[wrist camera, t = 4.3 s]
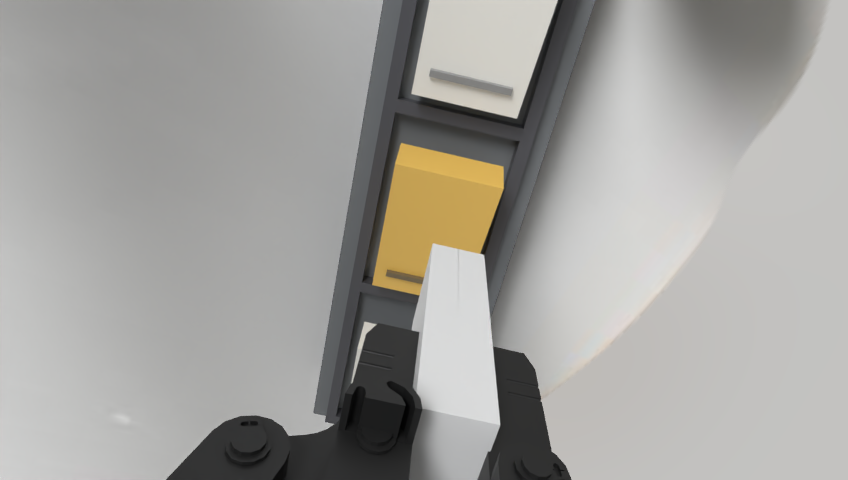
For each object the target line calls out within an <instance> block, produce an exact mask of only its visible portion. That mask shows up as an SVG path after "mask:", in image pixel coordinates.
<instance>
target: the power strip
mask: <svg viewBox="0 0 848 480" xmlns="http://www.w3.org/2000/svg"><path fill="white" fill-rule="evenodd" d="M594 3H595V0H558V1H557V4H556V7H555V10H554V13H553V16H552V19H551V22H550V24H549V27H548V30H547V33H546V36H545V39H544V42H543V45H542V48H541V50H540V53H539V56H538V59H537V62H536V65H535V68H534V71H533V74H532V76H531V79H530V82H529V85H528V88H527V91H526V94H525V97H524V100H523V102H522V105H521V108H520V111H519V114H518V117H517V119H516V118H512V117H507V116H503V115H499V114H495V113H490V112H486V111H482V110H478V109H473V108H469V107H465V106H461V105H456V104H452V103H448V102H444V101H439V100H435V99H431V98H427V97H422V96H418V95H414V94H411V93H412V88H413V83H414V78H415V72H416V67H417V62H418V57H419V52H420V47H421V41H422V36H423V31H424V26H425V21H426V16H427V10H428V5H429V0H383V6H382V12H381V18H380V24H379V30H378V36H377V41H376V47H375V53H374V59H373V65H372V71H371V77H370V83H369V89H368V95H367V100H366V106H365V112H364V118H363V124H362V130H361V136H360V142H359V148H358V153H357V159H356V165H355V171H354V177H353V183H352V189H351V195H350V201H349V206H348V212H347V218H346V224H345V230H344V236H343V242H342V248H341V254H340V260H339V265H338V271H337V277H336V283H335V289H334V295H333V301H332V307H331V313H330V318H329V324H328V330H327V336H326V342H325V348H324V354H323V360H322V366H321V371H320V377H319V383H318V389H317V395H316V401H315V407H314V413H315V414H320V415H325V416H326V419H325V422H328V423H333V424H336V423H337V422H338V421H339V419H340V417H341V412H342V407H343V402H344V397H345V393H346V391H347V389H348V388H349V386H350V384H351V381H352V375H353V370H354V365H355V359H356V354H357V348H358V345H359V341H360V337H361V333H362V329H363V325H364V322H368V323H373V324H378V323H380V324H385V325H390V326H394V327H399V328H403V329H408V330H412V324H413V319H414V315H415V311H416V307H417V303H418V299H419V296H420V295H415V294H411V293H406V292H402V291H397V290H393V289H388V288H383V287H379V286H374V285H372V283H373V278H374V272H375V267H376V262H377V257H378V251H379V246H380V241H381V235H382V230H383V225H384V220H385V214H386V209H387V204H388V199H389V193H390V188H391V183H392V177H393V172H394V167H395V162H396V159H397V155H398V152H399V148H400V145H401V143H404V144H408V145H412V146H417V147H421V148H425V149H430V150H434V151H438V152H443V153H447V154H451V155H456V156H460V157H464V158H469V159H473V160H477V161H481V162H486V163H490V164H494V165H499V166H503V170H504V189H503V192H502V195H501V198H500V200H499V203H498V206H497V209H496V211H495V214H494V217H493V220H492V222H491V225H490V228H489V231H488V233H487V236H486V239H485V242H484V244H483V247H482V250H481V253H480V254H482V255H484V259H485V269H486V280H487V290H488V301H489V311H490V318H491V315H492V312H493V309H494V306H495V303H496V300H497V297H498V294H499V291H500V288H501V285H502V282H503V279H504V276H505V273H506V270H507V267H508V264H509V261H510V258H511V255H512V252H513V249H514V246H515V243H516V240H517V237H518V234H519V231H520V228H521V225H522V221H523V218H524V215H525V212H526V209H527V206H528V203H529V200H530V197H531V194H532V191H533V188H534V185H535V182H536V179H537V176H538V173H539V170H540V167H541V164H542V161H543V158H544V155H545V152H546V149H547V146H548V143H549V140H550V137H551V134H552V131H553V128H554V125H555V122H556V118H557V115H558V112H559V109H560V106H561V103H562V100H563V97H564V94H565V91H566V88H567V85H568V82H569V79H570V76H571V73H572V70H573V67H574V64H575V61H576V58H577V55H578V52H579V49H580V46H581V43H582V40H583V37H584V34H585V31H586V28H587V25H588V22H589V19H590V16H591V12H592V9H593V6H594Z"/></svg>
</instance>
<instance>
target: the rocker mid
mask: <svg viewBox="0 0 848 480" xmlns="http://www.w3.org/2000/svg"><path fill="white" fill-rule="evenodd" d="M503 189H504V170H503V166H499V165H494V164H490V163H486V162H481V161H477V160H473V159H469V158H464V157H460V156H456V155H451V154H447V153H443V152H438V151H434V150H430V149H425V148H421V147H417V146H412V145H408V144H404V143H401V145H400V148H399V152H398V155H397V159H396V162H395V167H394V172H393V177H392V183H391V188H390V193H389V199H388V204H387V209H386V214H385V220H384V225H383V230H382V235H381V241H380V246H379V251H378V257H377V262H376V267H375V272H374V278H373V283H372V285H374V286H379V287H383V288H388V289H393V290H397V291H402V292H406V293H411V294H415V295H420V292H421V288H422V284H423V280H424V276H425V272H426V268H427V264H428V260H429V256H430V252H431V248H432V244H433V243H434V244H438V245H443V246H447V247H452V248H456V249H460V250H465V251H469V252H474V253H478V254H480V253H481V250H482V247H483V244H484V242H485V239H486V236H487V233H488V231H489V228H490V225H491V222H492V220H493V217H494V214H495V211H496V209H497V206H498V203H499V200H500V198H501V195H502V192H503Z"/></svg>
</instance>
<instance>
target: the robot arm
mask: <svg viewBox="0 0 848 480" xmlns="http://www.w3.org/2000/svg"><path fill="white" fill-rule="evenodd" d="M166 480H571V477H570V475H569V473H568V470H567V468H566V466H565V465H564V464H563V462H562V461H561V460H560V459H559V458H558V457H557V455H555V454H554V453H553V452H551V446H550V441H549V436H548V431H547V426H546V421H545V416H544V411H543V406H542V402H541V396H540V392H539V389H538V382H537V377H536V372H535V369H534V367H533V366H532V364H531V363H530V362H529V360H528V359H527V357H526V356H525V355H524V353H519V352H515V351H510V350H506V349H501V348H496V347H493V343H492V332H491V322H490V311H489V301H488V290H487V280H486V269H485V259H484V255H482V254H478V253H474V252H469V251H465V250H460V249H456V248H452V247H447V246H443V245H438V244H434V243H433V244H432V248H431V252H430V256H429V260H428V264H427V268H426V272H425V276H424V280H423V284H422V288H421V292H420V296H419V299H418V303H417V307H416V311H415V315H414V319H413V324H412V330H408V329H403V328H399V327H394V326H390V325H385V324H380V323H378V324H377V325H375V326H374V327H373V328H372V329H371V330H370V331H369V332H368V333H367V334H366V336H365V340H364V343H363V347H362V351H361V354H360V358H359V361H358V365H357V369H356V372H355V376H354V379H353V383H351V384H350V386H349V388H348V389H347V391H346V393H345V397H344V402H343V407H342V412H341V417H340V419H339V421H338V422H337V423H336V424H334V425H333V426H331V427H330V428H328V429H327V430H324V431H321V432H319V433H315V434H308V435H297V436H288V435H287V433H286V432H285V430H284V428H283V427H282V426H281V425H279V424H278V423H276V422H274V421H273V420H271V419H268V418H264V417H260V416H240V417H237V418H234V419H231V420H228V421H225V422H224V423H222V424H221V425H220V426H218V427H217V428H216V429H214V430H213V431H212V432H211V433H210V434H209V435H208V436H207V437H206V438H205V439H204V440H203V441H202V442H201V443H200V445H199V446H198V447H197V448H196V449H195V450H194V451H193V452H192V453H191V454H190V455H189V456H188V457H187V458H186V459H185V460H184V461H183V462H182V463H181V464H180V466H179V467H178V468H177V469H176V470H175V471H174V472H173V473H172V474H171V475H170V476H169V477H168V478H167V479H166Z"/></svg>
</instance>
